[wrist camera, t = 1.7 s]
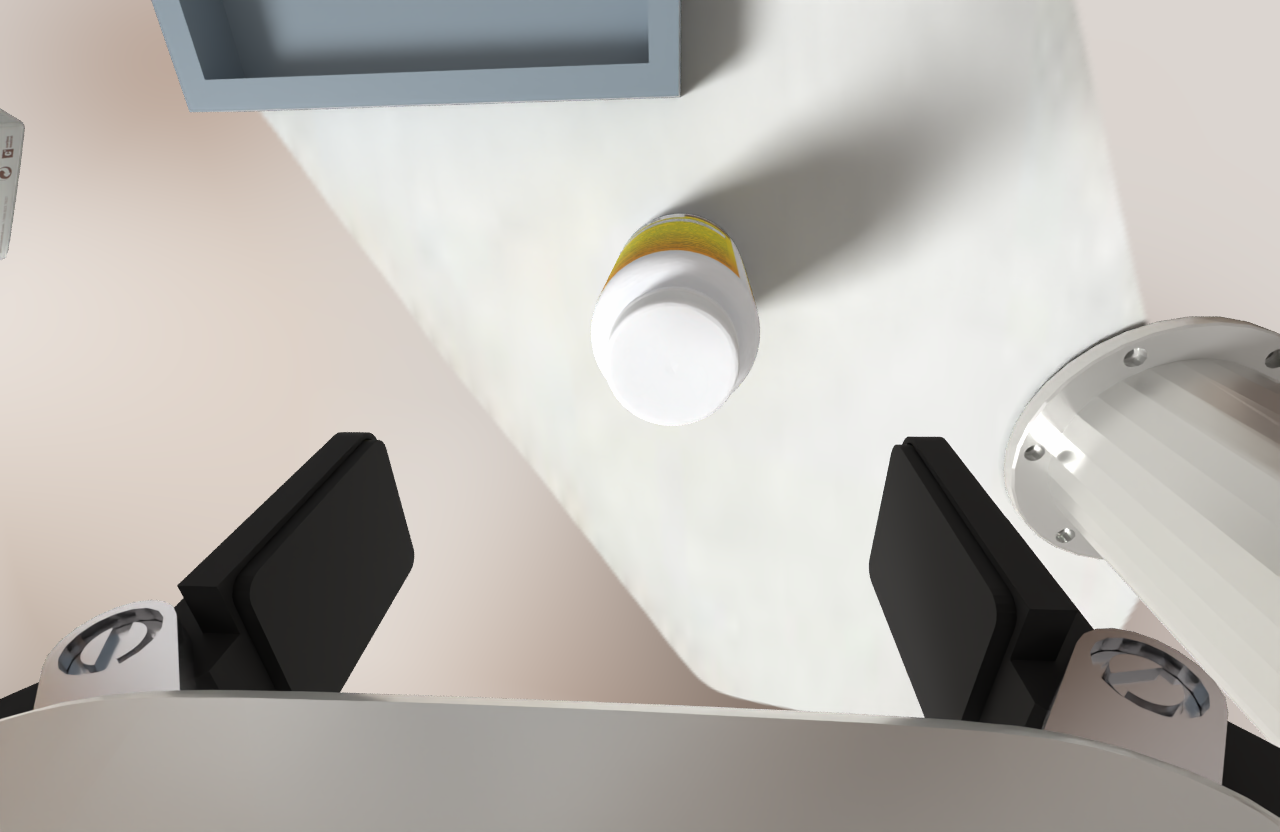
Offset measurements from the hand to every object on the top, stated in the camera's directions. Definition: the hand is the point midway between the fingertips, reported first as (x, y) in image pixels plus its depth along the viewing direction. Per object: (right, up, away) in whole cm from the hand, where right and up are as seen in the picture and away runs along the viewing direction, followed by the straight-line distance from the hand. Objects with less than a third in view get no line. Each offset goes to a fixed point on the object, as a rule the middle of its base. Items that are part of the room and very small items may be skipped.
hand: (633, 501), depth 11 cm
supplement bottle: (+2, +8, +15) cm, 17 cm away
